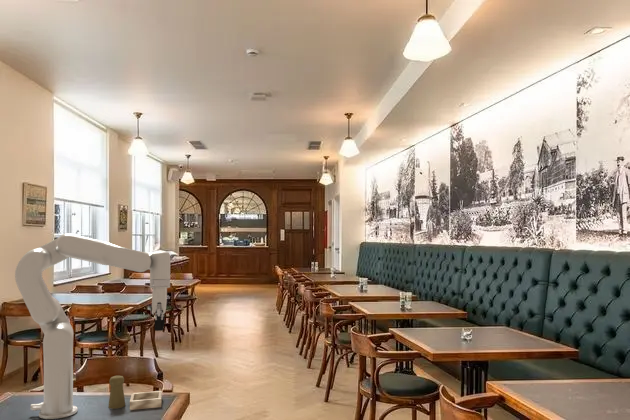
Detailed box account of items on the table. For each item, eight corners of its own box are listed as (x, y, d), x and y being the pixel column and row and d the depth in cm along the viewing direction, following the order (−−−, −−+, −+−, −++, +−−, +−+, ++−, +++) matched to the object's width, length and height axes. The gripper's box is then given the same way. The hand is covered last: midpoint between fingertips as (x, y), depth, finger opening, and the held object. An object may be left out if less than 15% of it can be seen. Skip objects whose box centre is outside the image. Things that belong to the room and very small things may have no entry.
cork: (119, 409, 201) (119, 378, 202) (104, 408, 202) (104, 378, 203) (128, 404, 207) (128, 374, 207) (114, 403, 208) (114, 373, 209)
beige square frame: (129, 409, 200) (129, 401, 200) (131, 401, 210) (131, 393, 210) (161, 407, 202) (161, 398, 202) (161, 398, 213) (161, 390, 213)
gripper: (151, 282, 220) (150, 325, 219) (148, 285, 203) (147, 332, 202) (170, 281, 222) (170, 324, 221) (169, 285, 205) (169, 331, 204)
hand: (159, 328), depth 211 cm, fingers open, 9 cm apart
